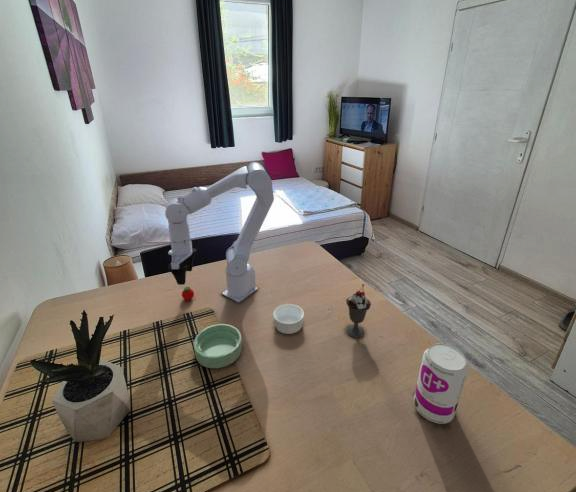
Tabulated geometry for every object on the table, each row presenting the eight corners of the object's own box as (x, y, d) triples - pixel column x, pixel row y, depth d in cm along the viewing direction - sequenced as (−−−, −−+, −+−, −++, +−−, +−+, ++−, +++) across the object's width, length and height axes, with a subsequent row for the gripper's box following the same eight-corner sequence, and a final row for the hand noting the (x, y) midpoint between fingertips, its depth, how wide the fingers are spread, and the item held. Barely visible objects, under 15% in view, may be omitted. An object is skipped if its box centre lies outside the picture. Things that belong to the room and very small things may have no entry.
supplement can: (435, 433, 66) (450, 379, 60) (405, 400, 72) (415, 349, 66) (462, 415, 69) (478, 363, 63) (430, 386, 76) (442, 336, 70)
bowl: (220, 329, 93) (218, 318, 92) (251, 347, 87) (250, 335, 85) (185, 355, 84) (184, 343, 83) (218, 377, 78) (216, 365, 76)
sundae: (365, 324, 95) (370, 281, 89) (368, 340, 89) (374, 295, 83) (342, 322, 96) (346, 279, 90) (344, 339, 90) (348, 294, 84)
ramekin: (268, 330, 93) (268, 318, 91) (280, 312, 100) (280, 300, 99) (297, 339, 90) (297, 327, 88) (307, 319, 97) (308, 307, 95)
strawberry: (189, 294, 109) (188, 283, 107) (197, 298, 107) (195, 287, 105) (180, 299, 106) (178, 288, 104) (187, 303, 104) (186, 293, 102)
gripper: (174, 228, 104) (179, 265, 110) (158, 249, 91) (164, 290, 96) (196, 228, 104) (200, 265, 110) (183, 250, 91) (188, 290, 96)
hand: (185, 277), depth 103 cm, fingers open, 7 cm apart
